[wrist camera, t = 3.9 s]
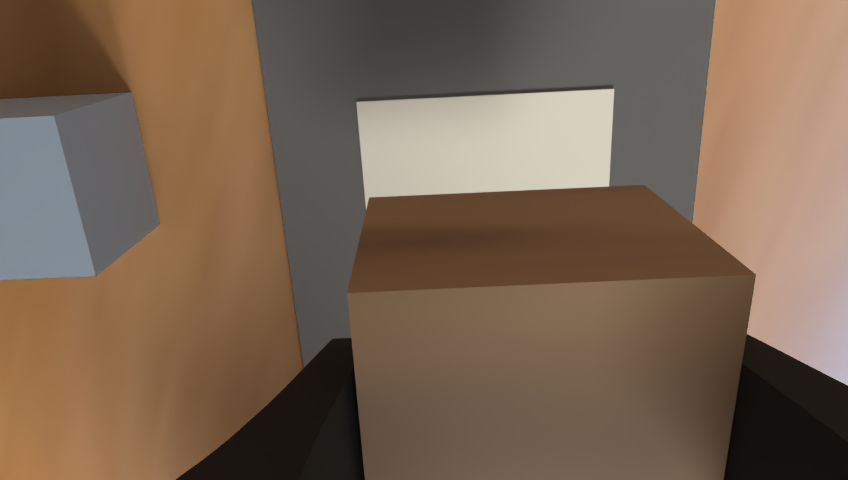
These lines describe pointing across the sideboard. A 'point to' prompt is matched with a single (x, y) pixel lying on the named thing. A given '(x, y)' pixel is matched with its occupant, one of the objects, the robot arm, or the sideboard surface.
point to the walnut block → (544, 337)
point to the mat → (468, 112)
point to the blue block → (71, 185)
